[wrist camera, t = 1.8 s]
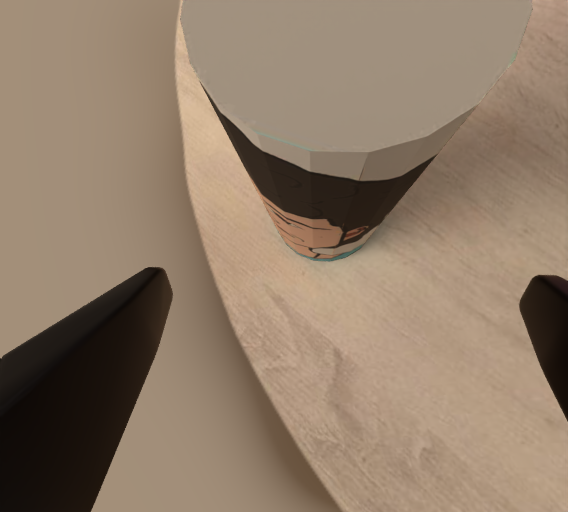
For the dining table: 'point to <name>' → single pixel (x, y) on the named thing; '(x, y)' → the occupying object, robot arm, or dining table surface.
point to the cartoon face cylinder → (345, 98)
